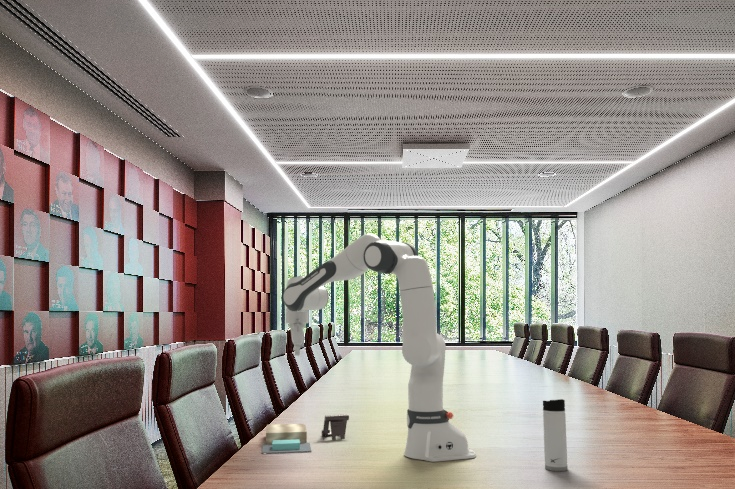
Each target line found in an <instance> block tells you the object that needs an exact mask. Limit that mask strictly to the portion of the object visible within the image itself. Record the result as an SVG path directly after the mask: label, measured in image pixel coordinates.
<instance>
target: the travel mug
mask: <svg viewBox="0 0 735 489" xmlns="http://www.w3.org/2000/svg"><path fill="white" fill-rule="evenodd" d="M565 402H566V400H565V399H563V398H560V399H559V398H558V399H550V400H542V418H543V420H542V422H543V423H542V424H543V446H544V448H543V449H544V468H545V469H546V470H547V471H550V472H566V471H567V470H568V469H569V468H568V447H567V446H568V444H567V424H566V423H567V421H566V418H567V417H566V408H565V407H566V405H565V404H566V403H565Z"/></svg>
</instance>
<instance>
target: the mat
mask: <svg viewBox="0 0 735 489" xmlns="http://www.w3.org/2000/svg"><path fill="white" fill-rule="evenodd" d="M293 452H301V453H312V447H311V442H307V443H300V449H294V450H272V444H266V443H263V444H262V449H261V454H262V453H275V454H292V453H293ZM293 454H294V453H293Z"/></svg>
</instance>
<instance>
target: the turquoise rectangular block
mask: <svg viewBox="0 0 735 489" xmlns="http://www.w3.org/2000/svg"><path fill="white" fill-rule="evenodd" d="M294 449H300V440H299V439H296V440H273V443H272V450H294Z"/></svg>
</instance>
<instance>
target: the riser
mask: <svg viewBox="0 0 735 489" xmlns="http://www.w3.org/2000/svg"><path fill="white" fill-rule="evenodd" d="M307 434H308V432H307V427H306V423H283V424H280V423H279V424H266V431H265V444H272V443H273V440H296V439H299V440H300V443H308V442H307V440H308V438H307V437H308V435H307Z"/></svg>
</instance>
